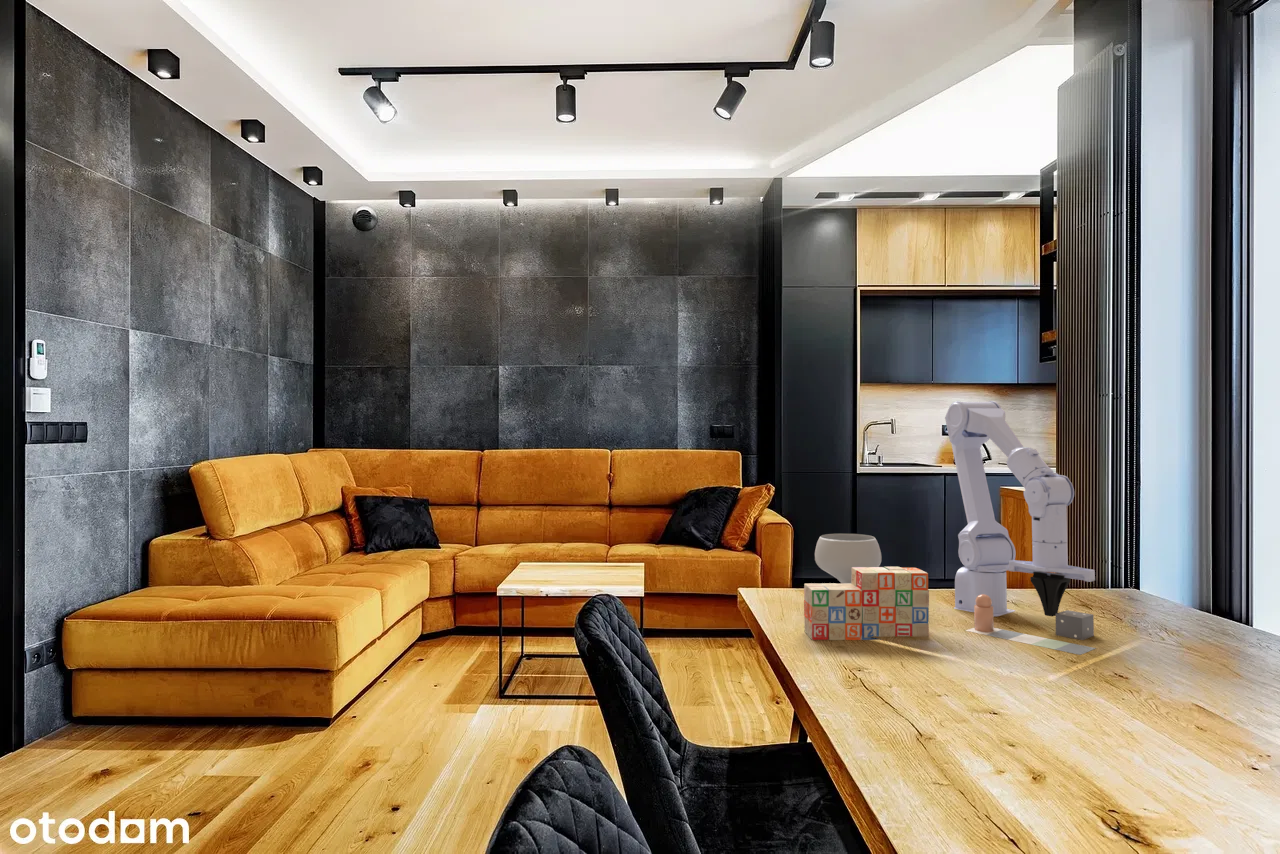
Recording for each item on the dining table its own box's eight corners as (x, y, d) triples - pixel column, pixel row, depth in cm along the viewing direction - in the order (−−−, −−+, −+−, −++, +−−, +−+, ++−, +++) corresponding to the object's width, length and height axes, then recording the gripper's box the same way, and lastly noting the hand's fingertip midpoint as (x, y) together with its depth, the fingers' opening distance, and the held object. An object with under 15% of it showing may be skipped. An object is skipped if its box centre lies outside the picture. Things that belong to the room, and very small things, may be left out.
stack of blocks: (811, 641, 136) (810, 572, 136) (804, 632, 142) (803, 567, 143) (929, 640, 136) (928, 571, 136) (917, 631, 142) (916, 566, 142)
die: (1055, 638, 136) (1055, 613, 136) (1067, 634, 139) (1067, 609, 139) (1082, 644, 132) (1082, 617, 132) (1094, 639, 135) (1094, 614, 135)
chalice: (868, 598, 171) (867, 532, 171) (892, 612, 157) (891, 540, 157) (807, 600, 170) (806, 533, 170) (826, 614, 156) (825, 541, 156)
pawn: (971, 629, 140) (970, 594, 140) (980, 626, 142) (979, 591, 142) (987, 633, 138) (987, 596, 138) (997, 630, 140) (996, 594, 140)
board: (965, 633, 140) (965, 630, 140) (982, 628, 143) (982, 625, 143) (1080, 658, 124) (1080, 654, 124) (1096, 651, 127) (1096, 648, 127)
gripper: (999, 539, 143) (1001, 611, 142) (1081, 547, 131) (1083, 626, 131) (1018, 536, 147) (1020, 606, 147) (1099, 543, 135) (1101, 619, 135)
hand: (1051, 615), depth 139 cm, fingers closed
